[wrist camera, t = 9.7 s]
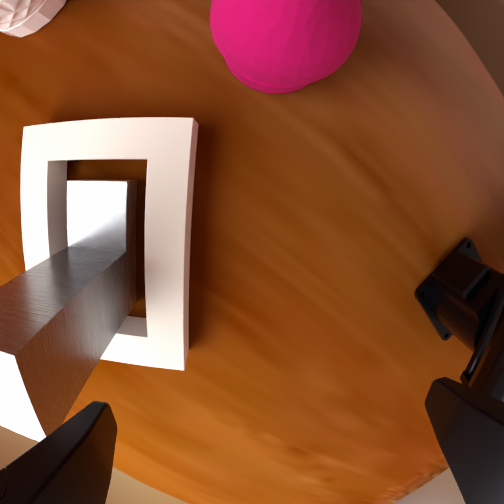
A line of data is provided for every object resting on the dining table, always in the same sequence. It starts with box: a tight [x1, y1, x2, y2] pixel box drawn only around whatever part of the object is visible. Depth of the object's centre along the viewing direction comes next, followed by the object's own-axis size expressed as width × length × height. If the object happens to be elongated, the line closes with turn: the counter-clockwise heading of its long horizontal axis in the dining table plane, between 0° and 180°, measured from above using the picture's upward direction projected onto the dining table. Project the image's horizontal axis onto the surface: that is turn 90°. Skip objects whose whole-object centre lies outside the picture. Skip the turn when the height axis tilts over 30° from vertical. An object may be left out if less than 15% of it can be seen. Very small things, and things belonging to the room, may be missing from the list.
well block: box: [21, 117, 199, 370], centre depth 18 cm, size 11×15×2 cm
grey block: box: [0, 179, 138, 442], centre depth 13 cm, size 4×8×13 cm, turn 174°
